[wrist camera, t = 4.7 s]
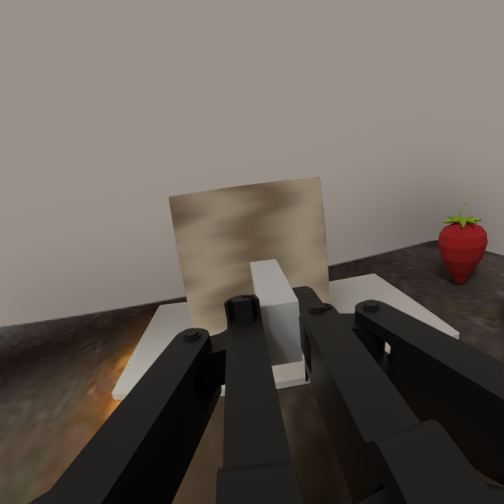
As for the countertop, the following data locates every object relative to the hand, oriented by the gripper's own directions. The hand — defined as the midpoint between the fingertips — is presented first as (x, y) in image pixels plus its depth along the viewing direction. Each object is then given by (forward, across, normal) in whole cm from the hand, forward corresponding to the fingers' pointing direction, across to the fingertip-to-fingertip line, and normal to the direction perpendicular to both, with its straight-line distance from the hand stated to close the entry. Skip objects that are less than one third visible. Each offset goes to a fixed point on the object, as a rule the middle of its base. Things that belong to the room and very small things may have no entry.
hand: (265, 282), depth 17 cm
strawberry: (+10, +25, -8) cm, 28 cm away
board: (+4, 0, -7) cm, 8 cm away
